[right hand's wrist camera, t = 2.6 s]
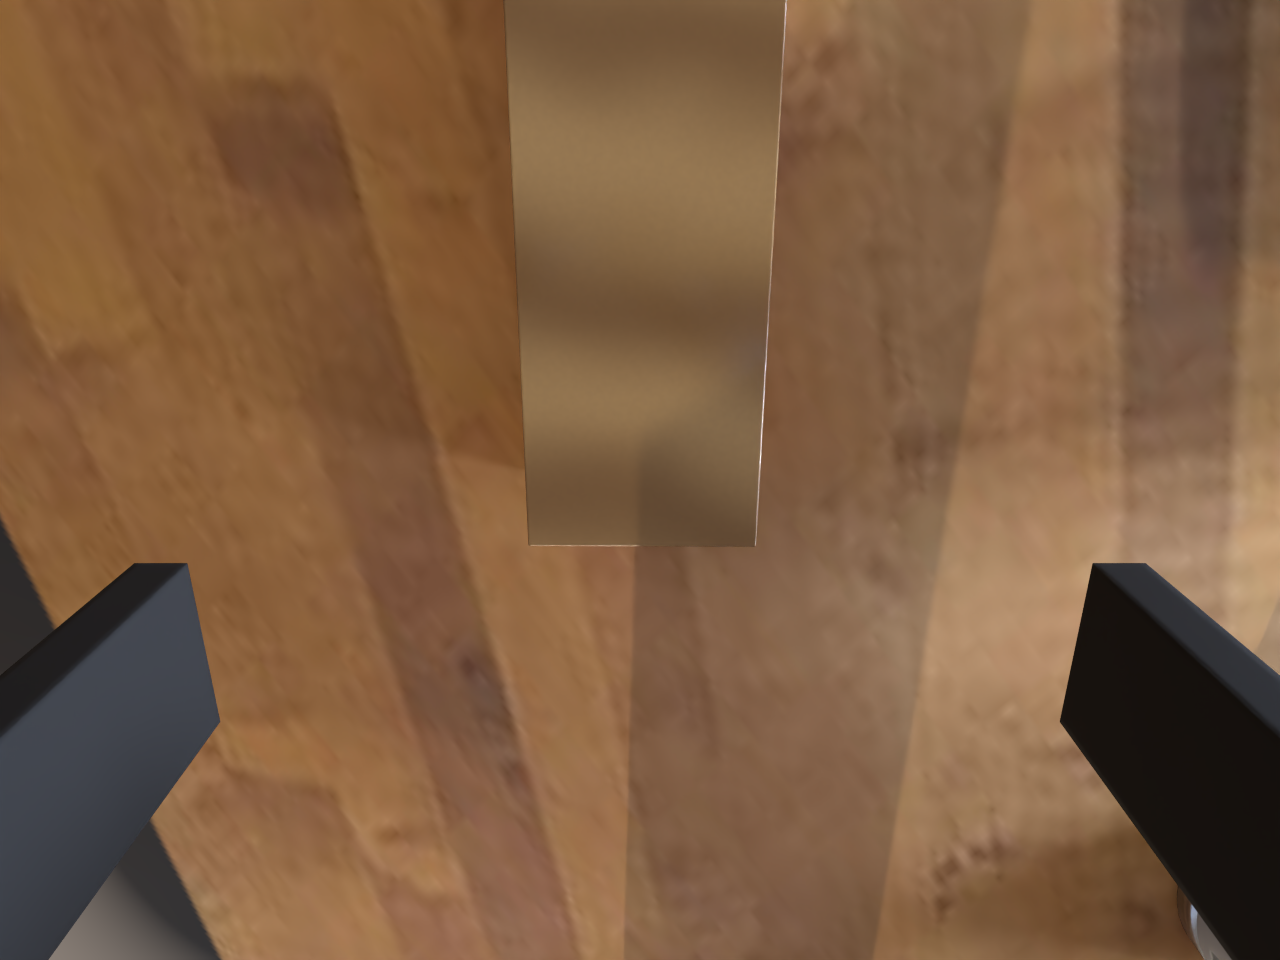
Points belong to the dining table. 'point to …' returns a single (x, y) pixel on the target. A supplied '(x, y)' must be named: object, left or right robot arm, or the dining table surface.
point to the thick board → (643, 263)
